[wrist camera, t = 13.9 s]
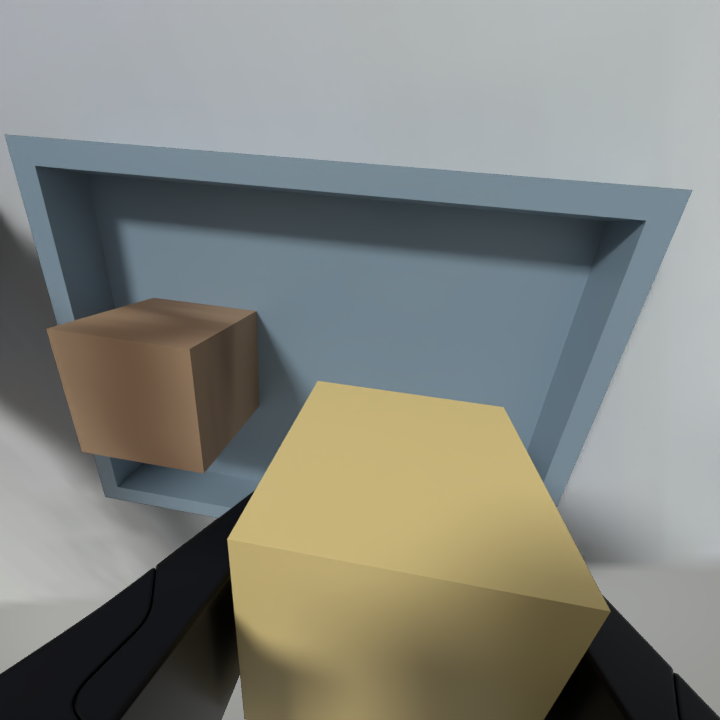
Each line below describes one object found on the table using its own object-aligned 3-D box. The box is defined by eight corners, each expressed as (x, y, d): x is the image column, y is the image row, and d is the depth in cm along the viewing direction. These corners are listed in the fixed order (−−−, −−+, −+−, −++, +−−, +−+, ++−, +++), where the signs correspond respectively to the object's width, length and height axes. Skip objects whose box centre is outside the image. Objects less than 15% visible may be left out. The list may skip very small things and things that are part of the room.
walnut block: (167, 391, 16) (82, 451, 12) (153, 297, 14) (46, 328, 10) (259, 406, 15) (203, 473, 11) (256, 310, 14) (189, 349, 9)
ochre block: (312, 514, 10) (244, 718, 6) (317, 380, 8) (227, 539, 4) (463, 541, 10) (505, 781, 5) (503, 407, 8) (610, 610, 4)
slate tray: (143, 462, 19) (105, 496, 16) (77, 150, 13) (4, 134, 10) (511, 527, 17) (527, 575, 14) (632, 197, 11) (692, 190, 9)
